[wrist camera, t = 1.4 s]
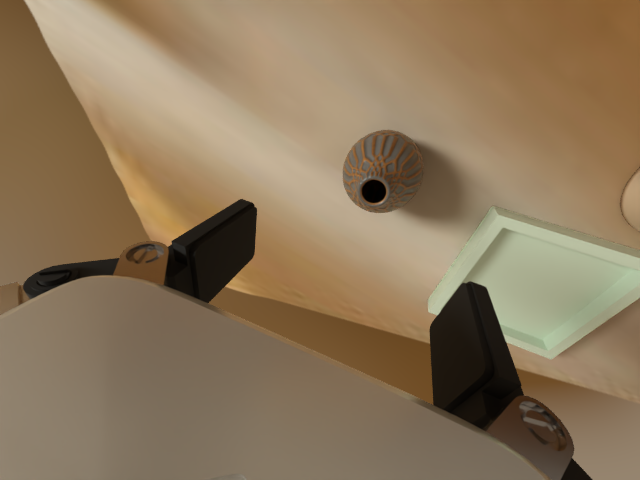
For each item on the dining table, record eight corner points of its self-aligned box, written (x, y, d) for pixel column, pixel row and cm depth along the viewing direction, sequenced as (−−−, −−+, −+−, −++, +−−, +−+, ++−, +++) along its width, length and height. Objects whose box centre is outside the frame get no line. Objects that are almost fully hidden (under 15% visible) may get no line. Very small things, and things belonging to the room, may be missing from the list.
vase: (439, 151, 23) (448, 180, 16) (392, 206, 27) (383, 248, 20) (378, 110, 23) (360, 120, 16) (340, 171, 27) (313, 201, 20)
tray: (492, 205, 24) (498, 214, 22) (657, 256, 21) (678, 270, 20) (427, 300, 32) (428, 312, 30) (543, 343, 29) (551, 359, 28)
